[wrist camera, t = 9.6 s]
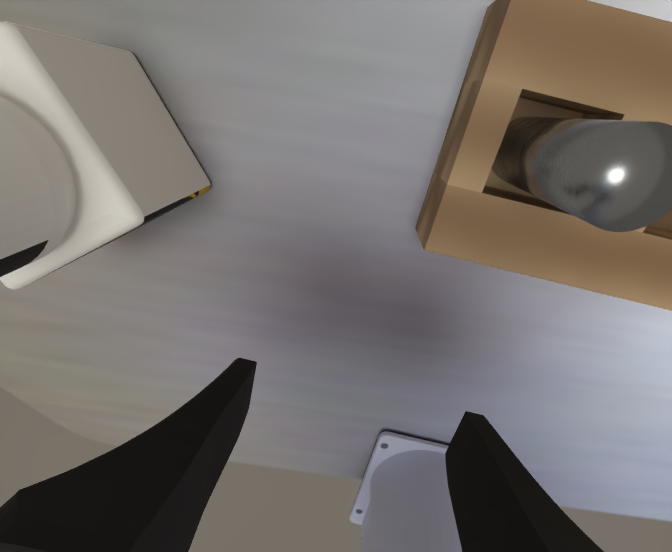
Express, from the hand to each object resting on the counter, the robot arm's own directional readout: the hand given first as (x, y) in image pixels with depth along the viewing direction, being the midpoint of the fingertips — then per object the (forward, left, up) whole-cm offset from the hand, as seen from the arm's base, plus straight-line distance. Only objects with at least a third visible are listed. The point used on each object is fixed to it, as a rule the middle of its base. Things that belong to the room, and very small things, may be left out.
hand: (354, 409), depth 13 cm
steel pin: (+9, -6, -9) cm, 14 cm away
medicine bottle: (+4, +14, -10) cm, 18 cm away
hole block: (+9, -9, -10) cm, 16 cm away
